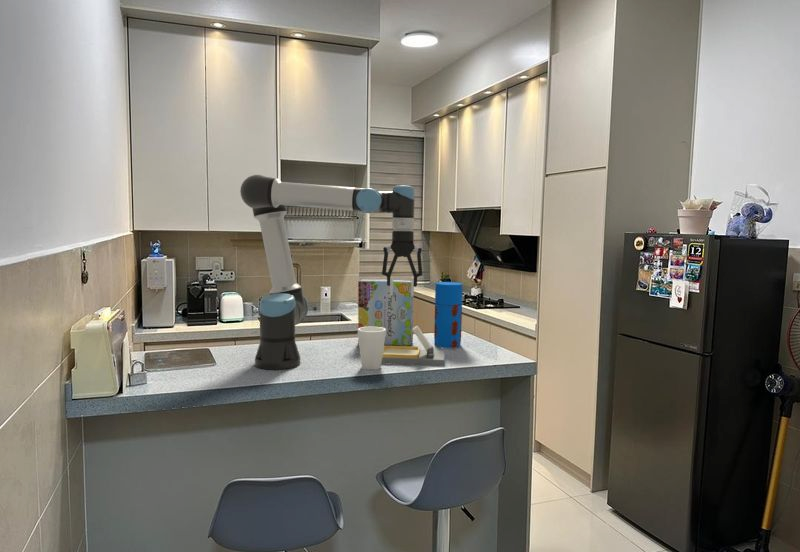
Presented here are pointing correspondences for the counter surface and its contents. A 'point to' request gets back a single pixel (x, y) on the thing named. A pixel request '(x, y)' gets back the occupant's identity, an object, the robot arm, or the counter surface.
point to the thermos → (448, 314)
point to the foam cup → (371, 346)
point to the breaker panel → (411, 356)
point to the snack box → (387, 309)
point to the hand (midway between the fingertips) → (401, 295)
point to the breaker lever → (423, 340)
